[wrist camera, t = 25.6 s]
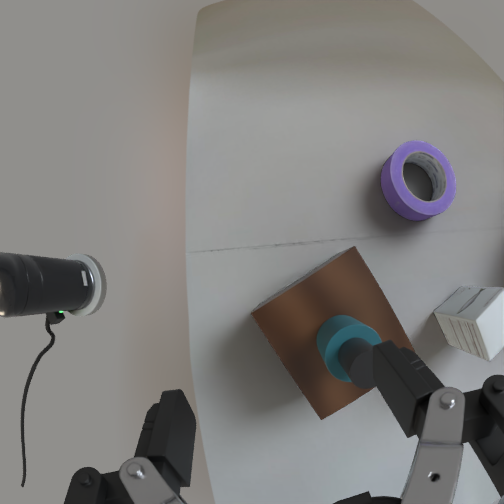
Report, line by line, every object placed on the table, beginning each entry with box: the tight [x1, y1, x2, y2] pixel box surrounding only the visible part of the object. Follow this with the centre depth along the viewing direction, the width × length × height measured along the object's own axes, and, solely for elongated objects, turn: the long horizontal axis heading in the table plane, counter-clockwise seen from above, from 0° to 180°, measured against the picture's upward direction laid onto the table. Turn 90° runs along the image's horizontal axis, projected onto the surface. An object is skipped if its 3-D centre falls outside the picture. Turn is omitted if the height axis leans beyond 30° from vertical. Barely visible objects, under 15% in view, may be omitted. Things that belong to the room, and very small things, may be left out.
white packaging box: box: [433, 286, 504, 362], centre depth 33 cm, size 7×7×13 cm
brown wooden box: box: [251, 246, 415, 420], centre depth 36 cm, size 14×16×10 cm
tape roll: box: [381, 141, 456, 221], centre depth 39 cm, size 12×12×5 cm
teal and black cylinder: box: [316, 315, 382, 389], centre depth 26 cm, size 6×6×12 cm
